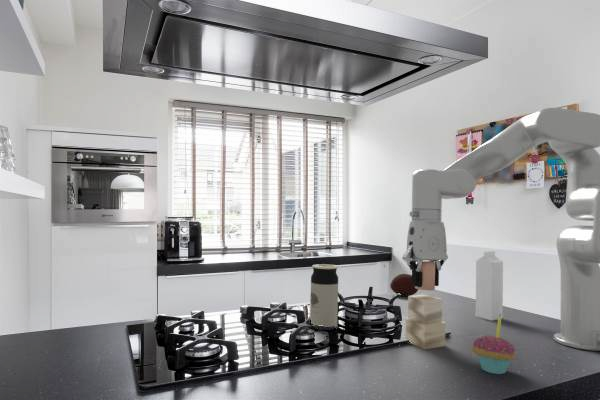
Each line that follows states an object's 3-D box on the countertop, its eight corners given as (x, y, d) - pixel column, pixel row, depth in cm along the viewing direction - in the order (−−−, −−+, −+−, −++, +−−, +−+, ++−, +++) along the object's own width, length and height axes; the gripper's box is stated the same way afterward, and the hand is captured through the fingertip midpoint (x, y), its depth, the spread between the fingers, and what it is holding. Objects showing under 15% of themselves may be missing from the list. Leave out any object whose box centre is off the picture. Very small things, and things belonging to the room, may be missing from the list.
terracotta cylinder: (439, 289, 105) (439, 262, 105) (424, 290, 102) (424, 263, 103) (425, 286, 109) (425, 260, 109) (410, 287, 107) (411, 260, 107)
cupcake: (490, 360, 93) (490, 308, 94) (524, 374, 86) (525, 317, 86) (463, 366, 89) (464, 311, 90) (498, 380, 82) (498, 321, 82)
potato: (422, 298, 163) (422, 275, 163) (392, 298, 163) (393, 275, 163) (415, 294, 172) (415, 272, 172) (387, 293, 171) (387, 271, 172)
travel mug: (331, 323, 122) (332, 263, 123) (341, 331, 115) (342, 267, 115) (306, 324, 120) (307, 264, 121) (314, 332, 112) (316, 267, 113)
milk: (475, 316, 135) (475, 250, 136) (486, 314, 138) (486, 250, 139) (492, 321, 130) (492, 252, 131) (503, 318, 133) (503, 251, 134)
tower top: (441, 322, 104) (442, 298, 104) (424, 324, 101) (424, 300, 102) (424, 316, 109) (425, 294, 110) (407, 318, 107) (408, 295, 107)
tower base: (445, 346, 104) (445, 322, 104) (424, 349, 100) (424, 325, 101) (425, 338, 110) (425, 316, 110) (405, 341, 107) (405, 318, 107)
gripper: (410, 215, 99) (409, 290, 99) (461, 217, 107) (460, 286, 106) (391, 215, 106) (390, 284, 105) (439, 217, 113) (438, 281, 113)
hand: (425, 285), depth 106 cm, fingers closed on terracotta cylinder, 5 cm apart
